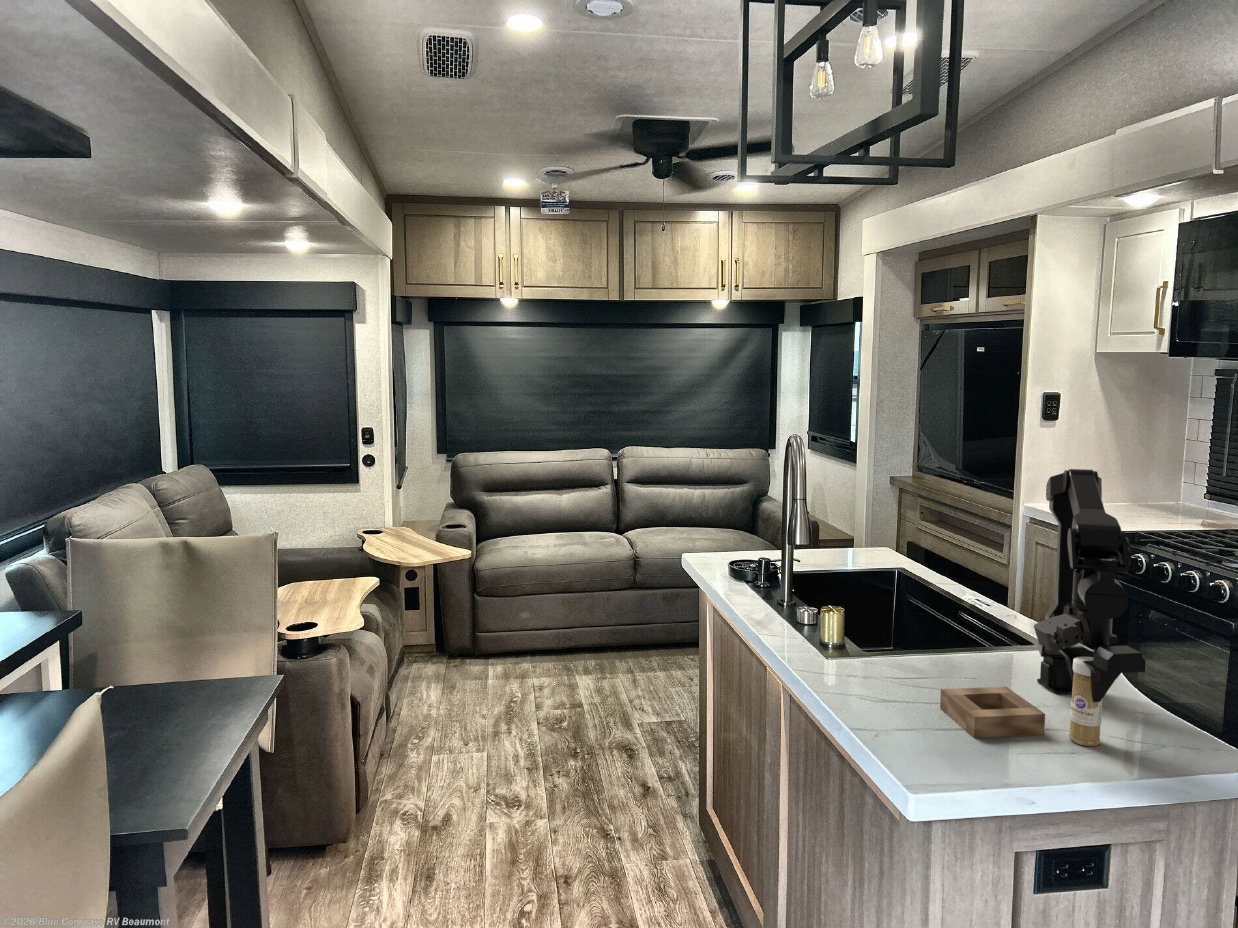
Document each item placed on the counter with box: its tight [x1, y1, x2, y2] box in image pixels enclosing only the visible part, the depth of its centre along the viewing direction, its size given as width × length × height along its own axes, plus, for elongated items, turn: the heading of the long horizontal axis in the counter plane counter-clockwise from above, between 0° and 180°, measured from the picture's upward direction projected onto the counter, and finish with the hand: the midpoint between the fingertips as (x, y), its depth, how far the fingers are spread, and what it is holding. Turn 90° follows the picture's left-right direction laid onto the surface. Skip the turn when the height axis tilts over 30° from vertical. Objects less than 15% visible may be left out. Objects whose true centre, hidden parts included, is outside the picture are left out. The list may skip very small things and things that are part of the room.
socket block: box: [939, 686, 1046, 738], centre depth 146 cm, size 12×12×4 cm
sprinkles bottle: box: [1068, 657, 1104, 747], centre depth 138 cm, size 5×5×13 cm
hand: (1087, 695), depth 138 cm, fingers closed on sprinkles bottle, 4 cm apart
